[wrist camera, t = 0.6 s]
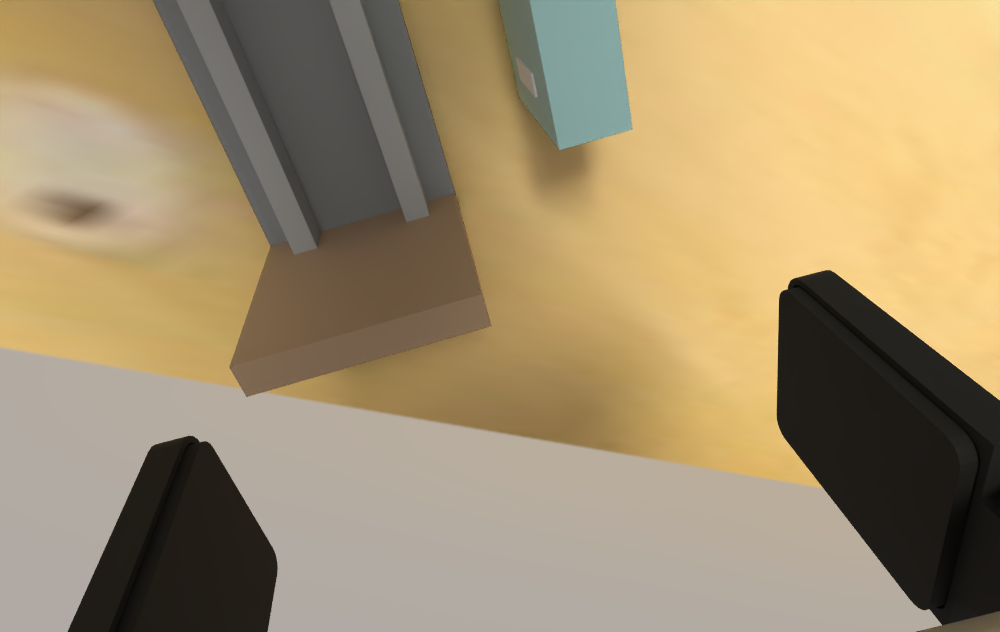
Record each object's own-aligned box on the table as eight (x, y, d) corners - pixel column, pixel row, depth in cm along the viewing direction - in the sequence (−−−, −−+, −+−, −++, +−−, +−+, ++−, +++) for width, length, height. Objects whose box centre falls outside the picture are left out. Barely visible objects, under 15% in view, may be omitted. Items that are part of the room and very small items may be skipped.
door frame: (43, -247, 25) (-197, -364, 14) (303, -321, 25) (246, -491, 14) (284, 262, 36) (246, 396, 26) (460, 211, 36) (491, 325, 26)
